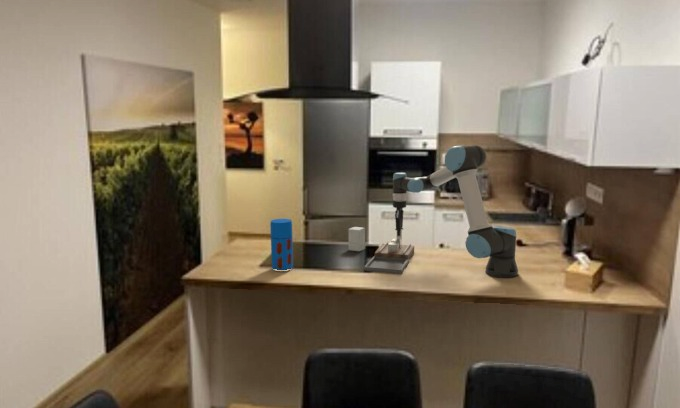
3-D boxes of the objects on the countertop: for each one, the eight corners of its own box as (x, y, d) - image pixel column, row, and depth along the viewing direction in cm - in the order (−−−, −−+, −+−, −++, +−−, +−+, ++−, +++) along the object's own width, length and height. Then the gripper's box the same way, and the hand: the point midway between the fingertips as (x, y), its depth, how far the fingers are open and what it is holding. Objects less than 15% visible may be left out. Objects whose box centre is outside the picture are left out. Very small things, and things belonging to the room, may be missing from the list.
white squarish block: (401, 246, 281) (401, 239, 280) (400, 248, 276) (400, 241, 276) (392, 245, 282) (393, 238, 282) (391, 248, 278) (391, 241, 277)
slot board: (414, 252, 283) (414, 244, 282) (407, 262, 264) (408, 253, 263) (382, 250, 288) (383, 241, 287) (374, 259, 270) (374, 250, 269)
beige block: (398, 250, 273) (399, 242, 273) (397, 252, 269) (397, 245, 268) (389, 249, 275) (390, 242, 274) (388, 251, 270) (388, 244, 269)
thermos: (297, 268, 255) (296, 220, 251) (281, 273, 247) (279, 223, 243) (283, 264, 262) (282, 217, 258) (267, 269, 254) (265, 220, 250)
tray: (408, 262, 264) (408, 259, 263) (401, 273, 245) (401, 270, 244) (373, 259, 269) (373, 256, 269) (363, 270, 250) (363, 266, 250)
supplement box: (365, 248, 292) (365, 227, 290) (359, 251, 286) (359, 230, 284) (354, 247, 296) (354, 226, 294) (348, 250, 290) (348, 228, 288)
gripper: (395, 198, 289) (394, 238, 293) (390, 201, 277) (390, 243, 281) (408, 198, 287) (407, 238, 291) (404, 202, 275) (403, 244, 279)
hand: (399, 241), depth 286 cm, fingers closed
